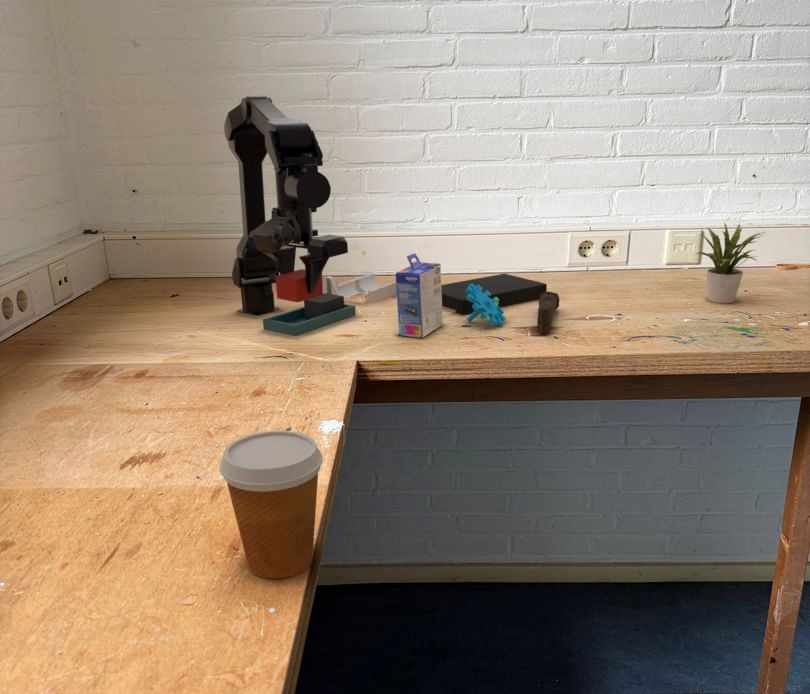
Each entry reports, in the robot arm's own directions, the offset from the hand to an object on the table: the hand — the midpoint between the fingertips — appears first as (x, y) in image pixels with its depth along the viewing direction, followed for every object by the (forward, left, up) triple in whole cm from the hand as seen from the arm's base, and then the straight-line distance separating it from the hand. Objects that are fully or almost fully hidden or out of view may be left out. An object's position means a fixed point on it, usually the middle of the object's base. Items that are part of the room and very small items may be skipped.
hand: (299, 290), depth 140 cm
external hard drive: (+9, +47, -11) cm, 49 cm away
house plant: (+53, +71, -11) cm, 90 cm away
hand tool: (+29, +38, -11) cm, 49 cm away
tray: (-10, +12, -11) cm, 19 cm away
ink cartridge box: (+11, +20, -11) cm, 26 cm away
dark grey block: (-10, +16, -10) cm, 21 cm away
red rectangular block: (0, 0, -1) cm, 1 cm away
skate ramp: (-16, +37, -11) cm, 42 cm away
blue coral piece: (+19, +31, -11) cm, 38 cm away
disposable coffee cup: (+47, -53, -11) cm, 71 cm away
